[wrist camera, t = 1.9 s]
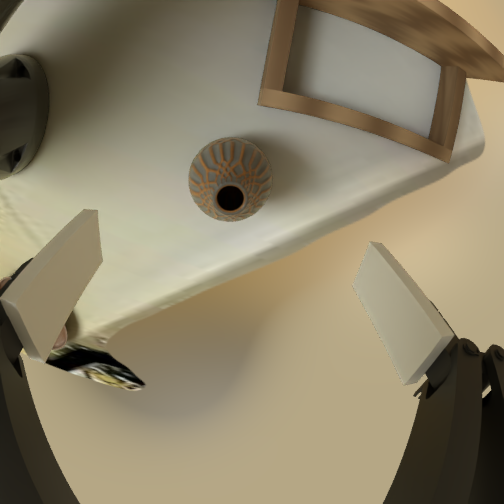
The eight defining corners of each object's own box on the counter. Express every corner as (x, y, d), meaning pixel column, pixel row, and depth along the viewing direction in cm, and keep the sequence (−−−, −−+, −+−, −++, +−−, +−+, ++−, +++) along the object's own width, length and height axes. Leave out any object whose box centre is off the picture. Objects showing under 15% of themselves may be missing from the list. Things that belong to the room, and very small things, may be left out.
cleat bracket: (241, 102, 22) (247, 100, 14) (264, -15, 16) (281, -65, 7) (441, 160, 26) (499, 189, 17) (458, 67, 19) (519, 73, 11)
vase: (271, 195, 27) (288, 234, 20) (203, 208, 27) (194, 253, 20) (260, 127, 24) (274, 138, 16) (187, 142, 24) (166, 161, 16)
